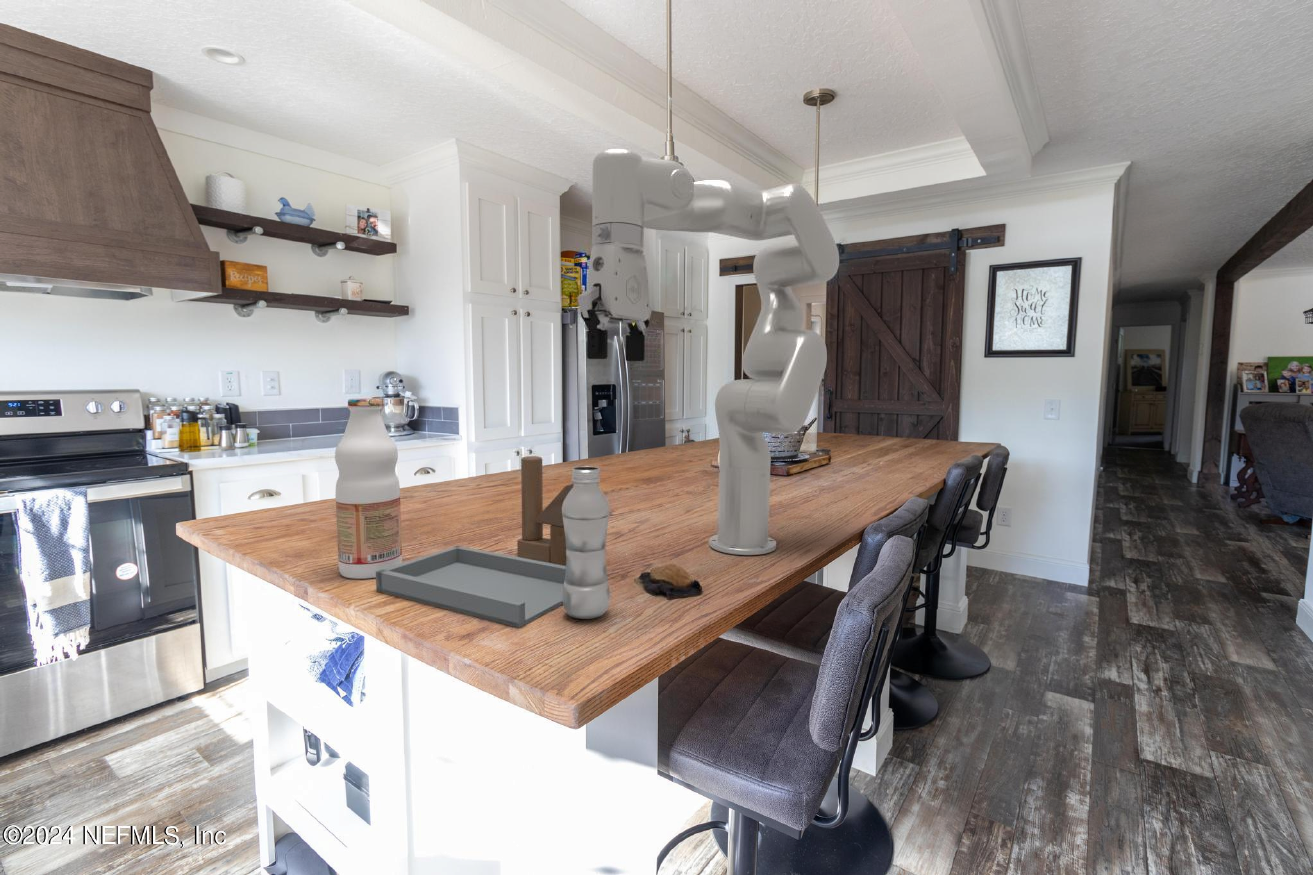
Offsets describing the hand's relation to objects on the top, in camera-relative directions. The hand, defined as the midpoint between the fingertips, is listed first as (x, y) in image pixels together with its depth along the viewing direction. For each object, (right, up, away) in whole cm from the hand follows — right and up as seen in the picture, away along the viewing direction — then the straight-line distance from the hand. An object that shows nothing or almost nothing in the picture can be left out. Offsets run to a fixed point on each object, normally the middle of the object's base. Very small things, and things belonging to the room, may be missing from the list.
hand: (616, 359), depth 91 cm
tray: (-20, -34, 0) cm, 40 cm away
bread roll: (+8, -35, +3) cm, 36 cm away
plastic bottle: (-4, -36, -9) cm, 37 cm away
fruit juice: (-41, -34, +9) cm, 53 cm away
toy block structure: (-13, -33, +14) cm, 38 cm away
